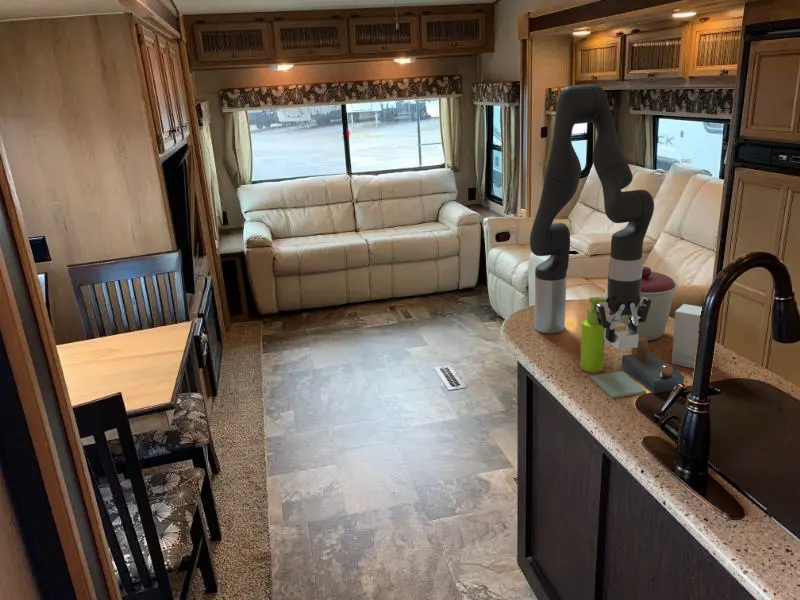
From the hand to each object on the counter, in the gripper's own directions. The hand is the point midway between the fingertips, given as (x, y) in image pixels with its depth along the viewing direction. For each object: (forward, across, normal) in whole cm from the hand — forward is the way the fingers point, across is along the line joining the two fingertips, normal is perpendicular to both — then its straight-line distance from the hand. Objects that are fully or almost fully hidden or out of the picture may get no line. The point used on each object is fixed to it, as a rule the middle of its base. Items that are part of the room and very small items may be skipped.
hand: (620, 339), depth 151 cm
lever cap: (+1, 0, 0) cm, 1 cm away
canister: (+13, -22, -26) cm, 36 cm away
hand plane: (+13, -10, -1) cm, 16 cm away
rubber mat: (+13, 0, 0) cm, 13 cm away
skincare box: (+13, -24, -5) cm, 28 cm away
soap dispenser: (+13, +1, -11) cm, 17 cm away
